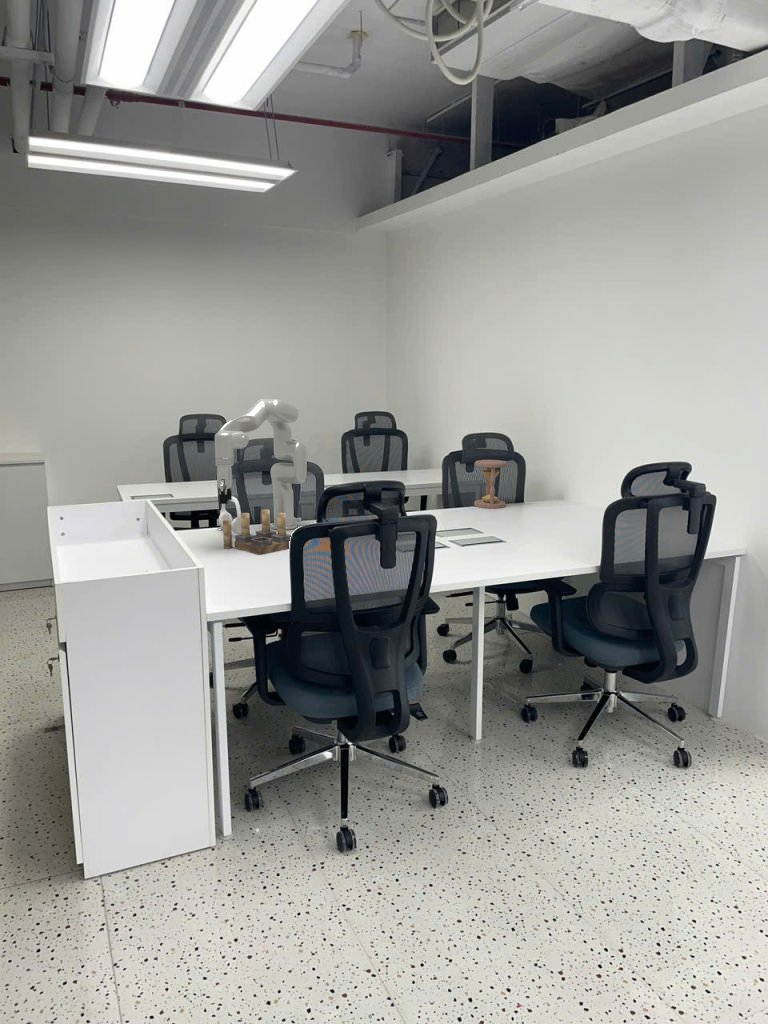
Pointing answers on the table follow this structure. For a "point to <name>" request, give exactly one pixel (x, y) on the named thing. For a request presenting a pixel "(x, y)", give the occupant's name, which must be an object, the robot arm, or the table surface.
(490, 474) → the hourglass
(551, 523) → the table surface
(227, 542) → the oak leg
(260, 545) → the stool
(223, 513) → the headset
